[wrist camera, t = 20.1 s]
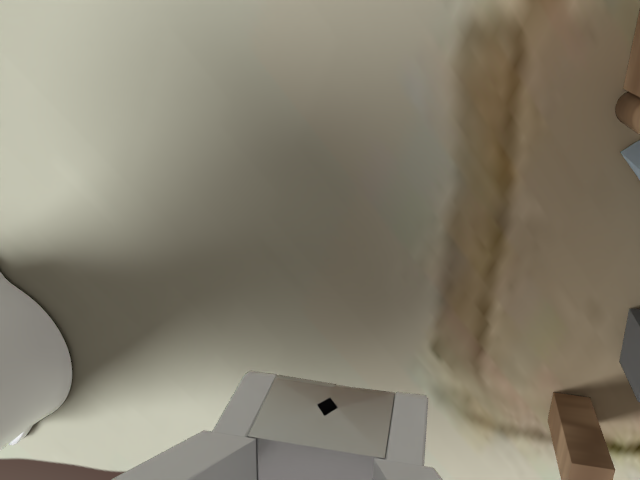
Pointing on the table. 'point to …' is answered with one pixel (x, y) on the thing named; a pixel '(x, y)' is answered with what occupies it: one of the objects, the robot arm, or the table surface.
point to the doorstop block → (632, 351)
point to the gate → (633, 157)
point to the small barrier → (577, 411)
